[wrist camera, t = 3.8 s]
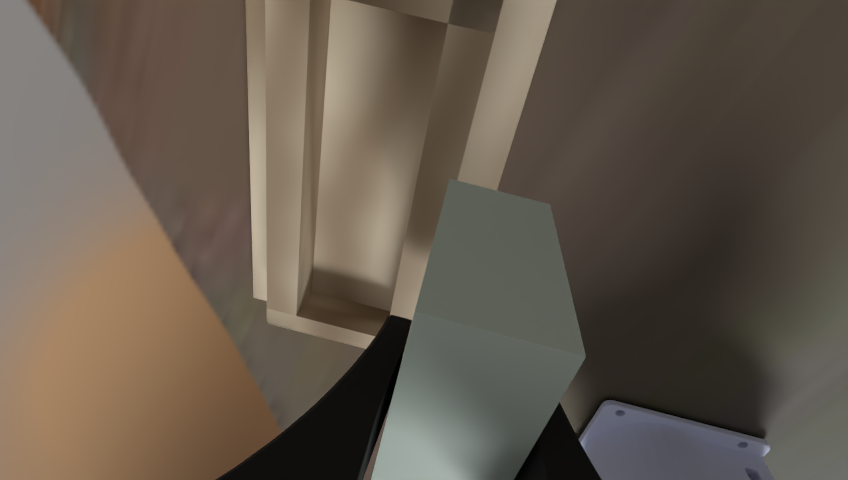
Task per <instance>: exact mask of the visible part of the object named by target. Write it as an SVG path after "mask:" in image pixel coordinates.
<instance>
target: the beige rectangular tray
mask: <svg viewBox="0 0 848 480" xmlns="http://www.w3.org/2000/svg"><path fill="white" fill-rule="evenodd" d="M556 1H557V0H246V36H247V72H248V109H249V146H250V182H251V219H252V256H253V292H254V298H257V299H261V300H265V301H267V323H268V324H272V325H276V326H280V327H284V328H288V329H291V330H295V331H299V332H303V333H307V334H311V335H315V336H318V337H322V338H326V339H330V340H334V341H338V342H341V343H345V344H349V345H353V346H357V347H361V348H365V349H367V347H368V346H369V345H370V343H371V342H372V341H373V339H374V338H375V336H376V335H377V333H378V332H379V330H380V329H381V327H382V325H383V324H384V322H385V320H386V318H387V316H390V315H395V316H399V317H403V318H406V319H410V320H413V316H414V312H415V308H416V305H417V301H418V297H419V293H420V289H421V286H422V282H423V278H424V274H425V270H426V267H427V263H428V259H429V255H430V251H431V248H432V244H433V240H434V236H435V232H436V229H437V225H438V221H439V217H440V213H441V210H442V206H443V202H444V198H445V194H446V191H447V187H448V183H449V179H453V180H457V181H461V182H465V183H469V184H473V185H477V186H481V187H485V188H488V189H492V190H496V191H497V189H498V185H499V182H500V179H501V176H502V173H503V169H504V166H505V163H506V160H507V157H508V154H509V150H510V147H511V144H512V141H513V138H514V134H515V131H516V128H517V125H518V122H519V119H520V115H521V112H522V109H523V106H524V103H525V99H526V96H527V93H528V90H529V87H530V84H531V80H532V77H533V74H534V71H535V68H536V65H537V61H538V58H539V55H540V52H541V49H542V45H543V42H544V39H545V36H546V33H547V30H548V26H549V23H550V20H551V17H552V14H553V10H554V7H555V4H556ZM411 324H412V323H411ZM410 328H411V326H410ZM409 332H410V330H409ZM408 335H409V334H408ZM407 339H408V338H407ZM406 343H407V342H406ZM405 347H406V346H405ZM404 351H405V350H404ZM403 355H404V354H403ZM402 358H403V357H402Z"/></svg>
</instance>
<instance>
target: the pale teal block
mask: <svg viewBox="0 0 848 480" xmlns="http://www.w3.org/2000/svg"><path fill="white" fill-rule="evenodd" d="M585 358H586V354H585V350H584V346H583V342H582V337H581V333H580V329H579V325H578V320H577V316H576V312H575V308H574V303H573V299H572V295H571V291H570V286H569V282H568V278H567V274H566V270H565V265H564V261H563V257H562V253H561V248H560V244H559V240H558V236H557V231H556V227H555V223H554V219H553V214H552V210H551V206H550V204H547V203H543V202H539V201H535V200H531V199H527V198H523V197H520V196H516V195H512V194H508V193H504V192H500V191H496V190H492V189H488V188H485V187H481V186H477V185H473V184H469V183H465V182H461V181H457V180H453V179H449V183H448V187H447V191H446V194H445V198H444V202H443V206H442V210H441V213H440V217H439V221H438V225H437V229H436V232H435V236H434V240H433V244H432V248H431V251H430V255H429V259H428V263H427V267H426V270H425V274H424V278H423V282H422V286H421V289H420V293H419V297H418V301H417V305H416V308H415V312H414V316H413V320H412V324H411V328H410V332H409V335H408V339H407V343H406V347H405V351H404V355H403V359H402V362H401V366H400V370H399V374H398V378H397V382H396V386H395V389H394V393H393V397H392V401H391V405H390V409H389V413H388V417H387V420H386V424H385V428H384V432H383V436H382V440H381V444H380V447H379V451H378V455H377V459H376V463H375V467H374V471H373V474H372V478H371V480H514V479H515V477H516V475H517V473H518V472H519V470H520V468H521V467H522V465H523V463H524V462H525V460H526V458H527V456H528V455H529V453H530V451H531V450H532V448H533V446H534V445H535V443H536V441H537V439H538V438H539V436H540V434H541V433H542V431H543V429H544V428H545V426H546V424H547V422H548V421H549V419H550V417H551V416H552V414H553V412H554V411H555V409H556V407H557V405H558V404H559V402H560V400H561V399H562V397H563V395H564V394H565V392H566V390H567V388H568V387H569V385H570V383H571V382H572V380H573V378H574V377H575V375H576V373H577V371H578V370H579V368H580V366H581V365H582V363H583V361H584V360H585Z"/></svg>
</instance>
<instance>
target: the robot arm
mask: <svg viewBox="0 0 848 480" xmlns="http://www.w3.org/2000/svg"><path fill="white" fill-rule="evenodd" d="M411 323H412V320H410V319H406V318H403V317H399V316H395V315H390V316H387V318H386V320H385V322H384V324H383V325H382V327H381V329H380V330H379V332H378V333H377V335H376V336H375V338H374V339H373V341H372V342H371V343H370V345H369V346H368V347H367V349H366V350H365V351H364V352H363V353H362V355H361V356H360V357H359V358H358V360H357V361H356V362H355V363H354V364H353V366H352V367H351V368H350V369H349V370H348V371H347V372H346V373H345V374H344V376H343V377H342V378H341V379H340V380H339V381H338V382H337V383H336V384H335V385H334V386H333V387H332V388H331V389H330V390H329V391H328V392H327V393H326V394H325V395H324V396H323V397H322V398H321V399H320V400H319V401H318V402H317V403H316V404H315V405H314V406H313V407H311V408H310V409H309V410H308V411H307V412H306V413H305V414H304V415H303V416H301V417H300V418H299V419H298V420H297V421H295V422H294V423H293V424H292V425H291V426H290V427H288V428H287V429H286V430H285V431H283V432H282V433H281V434H280V435H278V436H277V437H276V438H275V439H273V440H272V441H271V442H270V443H268V444H267V445H265V446H264V447H263V448H261V449H260V450H258V451H257V452H256V453H254V454H253V455H252V456H250V457H249V458H247V459H246V460H245V461H243V462H242V463H241V464H239V465H238V466H236V467H235V468H233V469H232V470H230V471H229V472H227V473H226V474H224V475H222V476H221V477H219V478H218V479H216V480H363V478H364V474H365V472H366V469H367V466H368V463H369V461H370V458H371V455H372V452H373V450H374V447H375V444H376V441H377V439H378V436H379V433H380V430H381V428H382V425H383V422H384V419H385V417H386V414H387V411H388V408H389V406H390V403H391V400H392V396H393V392H394V388H395V384H396V381H397V377H398V373H399V369H400V365H401V361H402V357H403V354H404V350H405V346H406V342H407V338H408V334H409V330H410V326H411ZM769 450H770V446H769V444H768V443H767V441H766V440H764V439H761V438H757V437H753V436H749V435H745V434H742V433H738V432H734V431H730V430H726V429H722V428H718V427H714V426H711V425H707V424H703V423H699V422H695V421H691V420H687V419H684V418H680V417H676V416H672V415H668V414H664V413H660V412H656V411H653V410H649V409H645V408H641V407H637V406H633V405H629V404H626V403H622V402H618V401H614V400H607V401H604V402H603V403H602V404H601V406H600V407H599V409H598V410H597V412H596V413H595V415H594V416H593V418H592V419H591V421H590V422H589V424H588V425H587V427H586V428H585V430H584V432H583V433H582V435H581V436H580V438H579V439H578V438H577V436H576V434H575V432H574V430H573V428H572V426H571V424H570V422H569V420H568V418H567V416H566V414H565V412H564V410H563V408H562V406H561V404H560V402H559V404H558V405H557V407H556V409H555V411H554V412H553V414H552V416H551V417H550V419H549V421H548V422H547V424H546V426H545V428H544V429H543V431H542V433H541V434H540V436H539V438H538V439H537V441H536V443H535V445H534V446H533V448H532V450H531V451H530V453H529V455H528V456H527V458H526V460H525V462H524V463H523V465H522V467H521V468H520V470H519V472H518V473H517V475H516V477H515V479H514V480H774V478H773V476H772V474H771V472H770V471H769V469H768V467H767V465H766V463H765V462H764V460H763V458H762V457H763V456H764V455H766V454H767V453H768V452H769Z"/></svg>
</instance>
